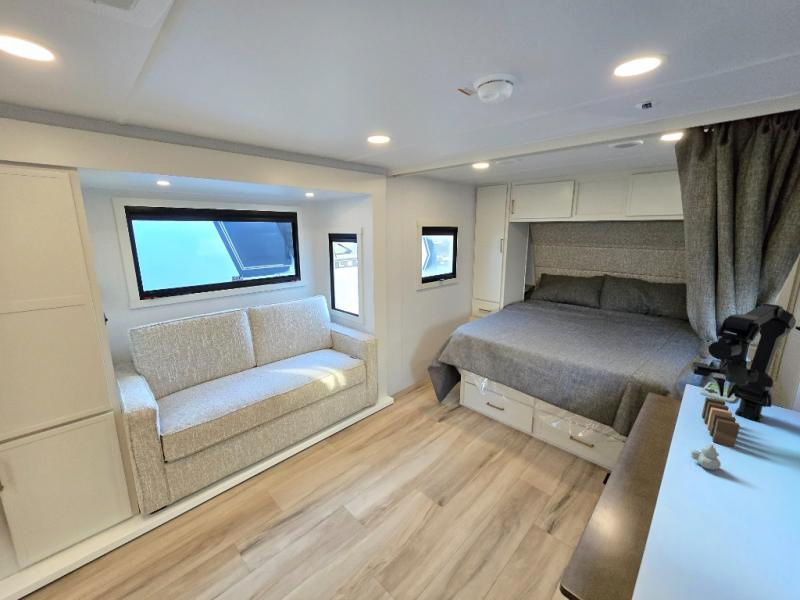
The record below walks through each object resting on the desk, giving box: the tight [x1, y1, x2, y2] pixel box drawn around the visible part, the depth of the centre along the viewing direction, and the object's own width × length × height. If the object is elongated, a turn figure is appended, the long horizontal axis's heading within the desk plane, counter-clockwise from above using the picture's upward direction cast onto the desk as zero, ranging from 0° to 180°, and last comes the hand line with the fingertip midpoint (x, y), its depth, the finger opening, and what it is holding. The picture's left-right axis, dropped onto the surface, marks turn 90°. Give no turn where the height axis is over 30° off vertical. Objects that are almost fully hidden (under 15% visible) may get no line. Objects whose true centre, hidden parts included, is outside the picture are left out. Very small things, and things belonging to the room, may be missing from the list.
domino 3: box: [706, 407, 733, 431], centre depth 112 cm, size 2×5×8 cm, turn 57°
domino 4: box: [708, 413, 737, 437], centre depth 109 cm, size 2×5×8 cm, turn 57°
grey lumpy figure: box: [690, 443, 721, 471], centre depth 96 cm, size 5×7×8 cm
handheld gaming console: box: [699, 381, 738, 403], centre depth 138 cm, size 10×2×15 cm
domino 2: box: [703, 402, 730, 425], centre depth 116 cm, size 2×5×8 cm, turn 57°
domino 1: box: [701, 396, 726, 419], centre depth 119 cm, size 2×5×8 cm, turn 57°
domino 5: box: [711, 419, 741, 449], centre depth 106 cm, size 2×5×8 cm, turn 57°
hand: (724, 396), depth 110 cm, fingers closed
